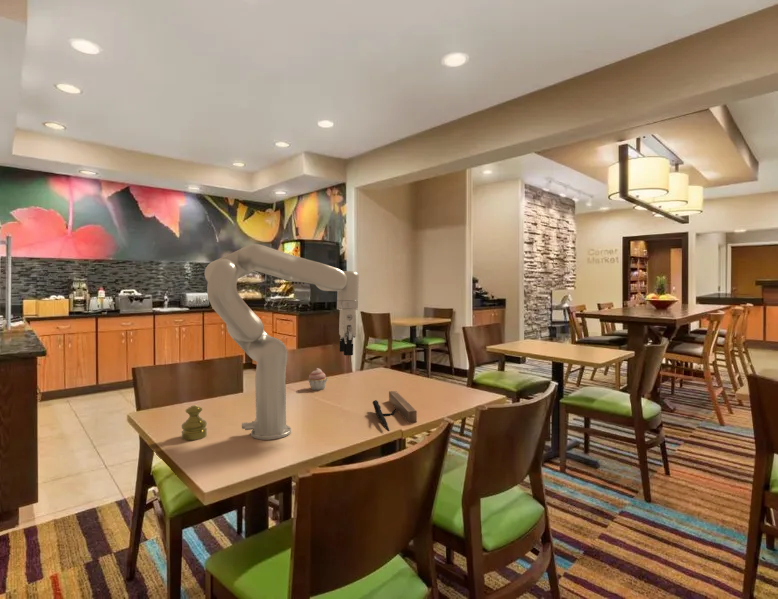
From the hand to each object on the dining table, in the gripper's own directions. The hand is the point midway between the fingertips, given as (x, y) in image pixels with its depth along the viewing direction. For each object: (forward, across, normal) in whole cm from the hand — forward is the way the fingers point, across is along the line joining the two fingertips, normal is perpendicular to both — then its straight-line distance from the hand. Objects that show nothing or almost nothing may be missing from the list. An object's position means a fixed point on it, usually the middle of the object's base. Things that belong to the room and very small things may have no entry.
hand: (346, 353), depth 159 cm
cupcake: (+24, +50, +5) cm, 56 cm away
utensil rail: (+23, +6, -23) cm, 33 cm away
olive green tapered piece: (+26, -4, +49) cm, 56 cm away
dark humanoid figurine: (+24, -4, -16) cm, 29 cm away
